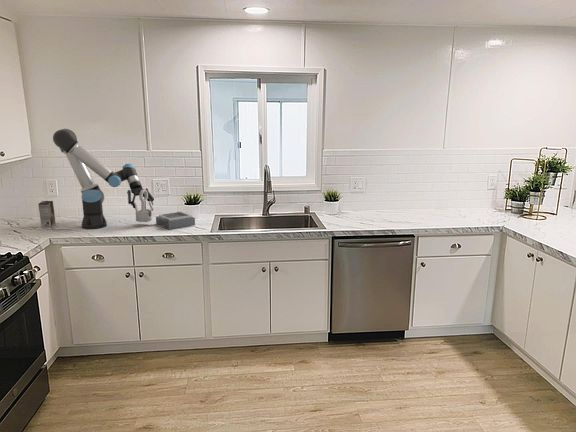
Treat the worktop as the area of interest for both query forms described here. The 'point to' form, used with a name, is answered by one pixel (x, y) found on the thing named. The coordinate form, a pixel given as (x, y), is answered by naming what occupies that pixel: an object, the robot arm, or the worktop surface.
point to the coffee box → (47, 214)
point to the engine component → (143, 209)
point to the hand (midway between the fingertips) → (145, 210)
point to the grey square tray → (175, 220)
